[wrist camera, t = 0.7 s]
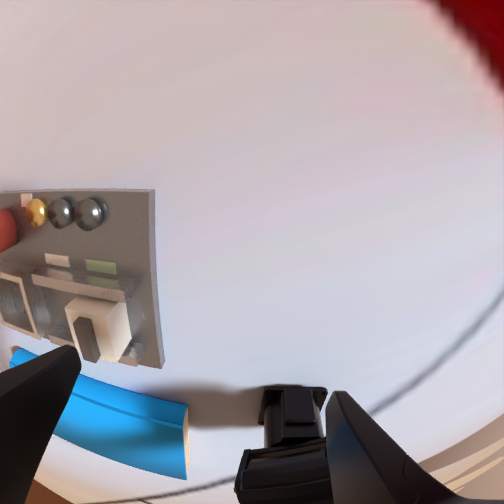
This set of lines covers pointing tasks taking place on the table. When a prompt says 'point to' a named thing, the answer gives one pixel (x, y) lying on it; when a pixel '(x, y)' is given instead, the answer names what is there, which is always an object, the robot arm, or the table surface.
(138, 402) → the book
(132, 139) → the table surface
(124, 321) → the breaker
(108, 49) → the table surface
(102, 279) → the panel
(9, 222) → the cap
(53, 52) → the table surface
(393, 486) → the robot arm
